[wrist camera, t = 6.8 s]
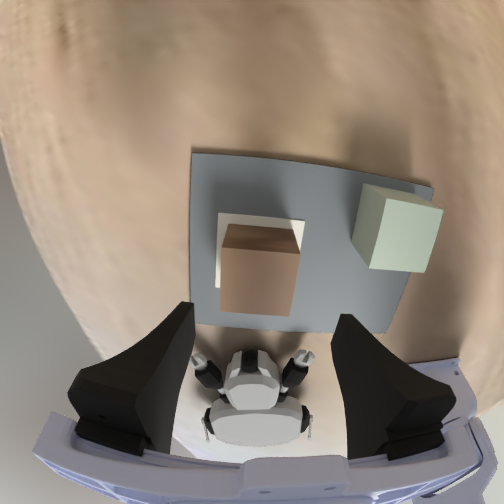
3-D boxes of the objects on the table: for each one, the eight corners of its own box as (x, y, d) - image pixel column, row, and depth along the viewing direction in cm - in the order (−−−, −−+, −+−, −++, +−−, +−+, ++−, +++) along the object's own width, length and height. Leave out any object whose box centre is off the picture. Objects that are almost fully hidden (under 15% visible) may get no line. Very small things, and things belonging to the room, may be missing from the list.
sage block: (414, 193, 18) (443, 210, 15) (400, 248, 20) (424, 272, 16) (363, 183, 18) (386, 198, 14) (350, 242, 20) (368, 268, 16)
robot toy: (186, 334, 26) (211, 421, 31) (175, 365, 22) (207, 449, 27) (315, 329, 25) (307, 419, 31) (324, 361, 21) (311, 447, 26)
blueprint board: (431, 187, 18) (434, 189, 18) (384, 330, 24) (386, 333, 24) (193, 152, 18) (191, 153, 17) (192, 320, 24) (191, 323, 23)
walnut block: (292, 229, 20) (300, 254, 16) (284, 284, 22) (289, 316, 18) (228, 223, 20) (221, 247, 16) (225, 279, 21) (219, 311, 18)
